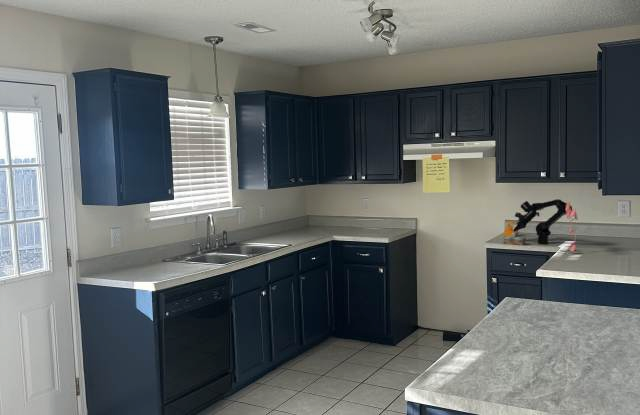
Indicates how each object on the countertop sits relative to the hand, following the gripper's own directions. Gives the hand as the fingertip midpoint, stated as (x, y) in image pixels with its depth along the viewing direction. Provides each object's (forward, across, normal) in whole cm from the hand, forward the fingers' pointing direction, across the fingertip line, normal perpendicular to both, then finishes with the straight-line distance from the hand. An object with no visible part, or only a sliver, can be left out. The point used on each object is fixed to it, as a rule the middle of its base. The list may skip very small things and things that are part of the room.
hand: (513, 230), depth 459 cm
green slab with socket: (+4, +11, +7) cm, 14 cm away
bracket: (+7, -23, +4) cm, 24 cm away
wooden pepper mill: (+4, 0, +6) cm, 7 cm away
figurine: (-18, +40, +30) cm, 53 cm away
